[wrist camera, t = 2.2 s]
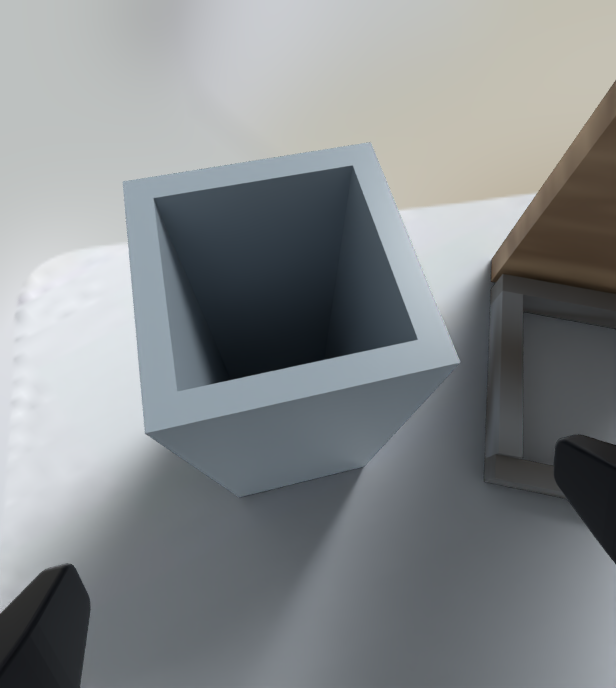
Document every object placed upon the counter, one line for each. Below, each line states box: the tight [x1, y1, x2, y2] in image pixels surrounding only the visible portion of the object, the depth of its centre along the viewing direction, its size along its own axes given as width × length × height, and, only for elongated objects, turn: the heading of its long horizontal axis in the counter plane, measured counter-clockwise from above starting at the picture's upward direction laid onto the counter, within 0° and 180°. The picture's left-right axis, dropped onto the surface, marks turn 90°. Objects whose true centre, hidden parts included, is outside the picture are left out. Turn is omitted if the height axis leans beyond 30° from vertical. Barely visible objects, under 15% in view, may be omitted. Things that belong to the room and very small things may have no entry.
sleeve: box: [123, 142, 461, 497], centre depth 14 cm, size 6×6×12 cm
